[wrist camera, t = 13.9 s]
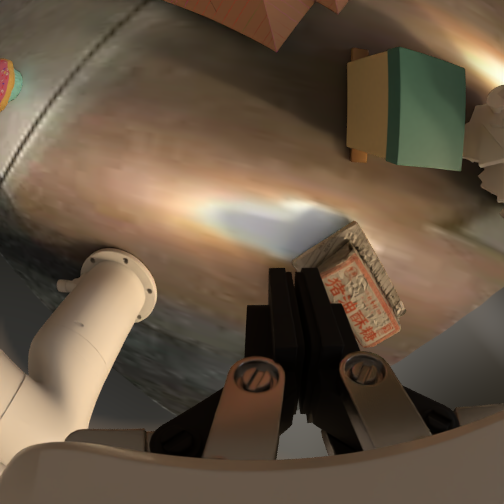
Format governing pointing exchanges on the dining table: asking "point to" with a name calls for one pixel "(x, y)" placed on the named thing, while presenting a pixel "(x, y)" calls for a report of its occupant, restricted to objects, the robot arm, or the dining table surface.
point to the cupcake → (8, 82)
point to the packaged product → (356, 283)
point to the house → (258, 16)
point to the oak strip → (354, 153)
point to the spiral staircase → (488, 142)
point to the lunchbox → (407, 109)
